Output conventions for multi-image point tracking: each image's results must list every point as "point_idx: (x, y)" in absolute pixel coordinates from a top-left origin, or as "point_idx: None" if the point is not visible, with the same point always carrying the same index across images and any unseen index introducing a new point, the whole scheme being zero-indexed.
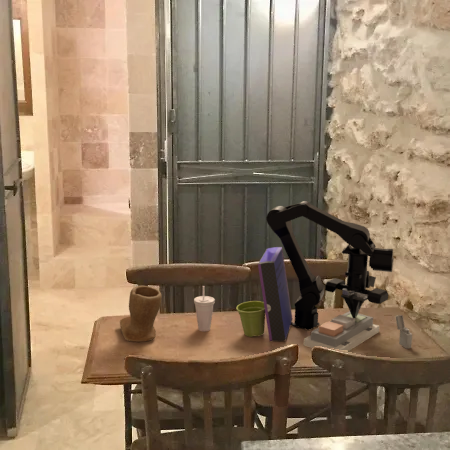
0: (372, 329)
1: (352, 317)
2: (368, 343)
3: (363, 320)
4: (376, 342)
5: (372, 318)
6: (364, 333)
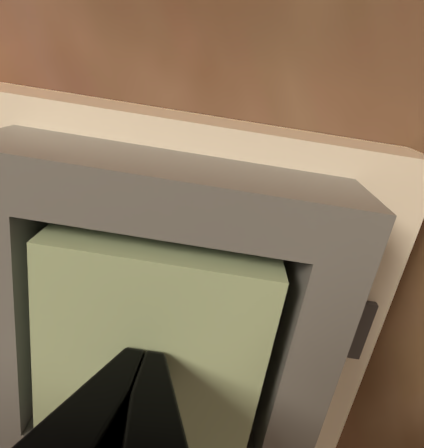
0: (380, 305)
1: None
2: (362, 414)
3: (288, 390)
4: (421, 375)
5: (383, 229)
6: (326, 421)
